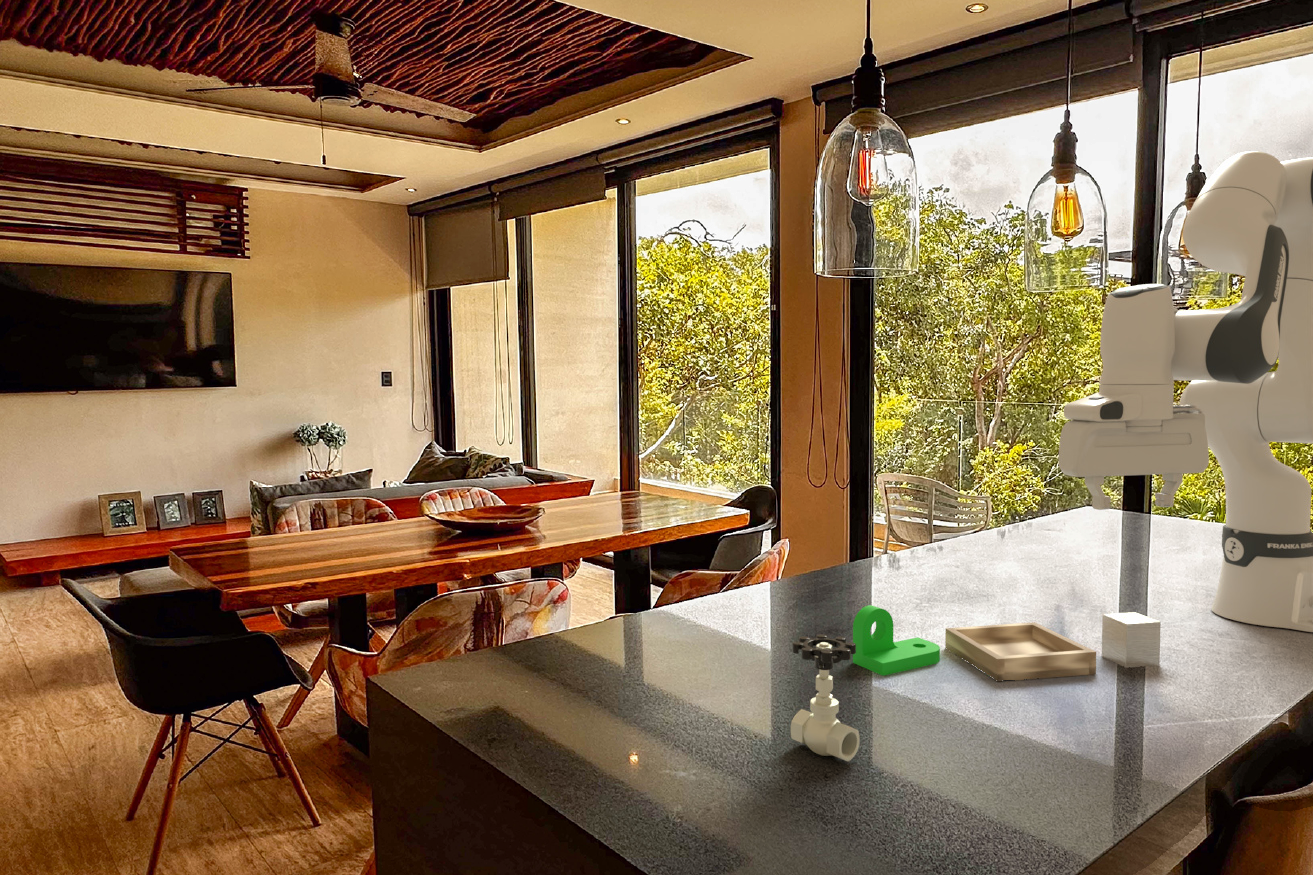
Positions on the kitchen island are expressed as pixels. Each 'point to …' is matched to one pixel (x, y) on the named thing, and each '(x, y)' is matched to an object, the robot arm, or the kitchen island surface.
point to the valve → (824, 701)
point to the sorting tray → (1020, 651)
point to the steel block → (1131, 639)
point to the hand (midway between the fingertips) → (1132, 507)
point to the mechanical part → (888, 645)
